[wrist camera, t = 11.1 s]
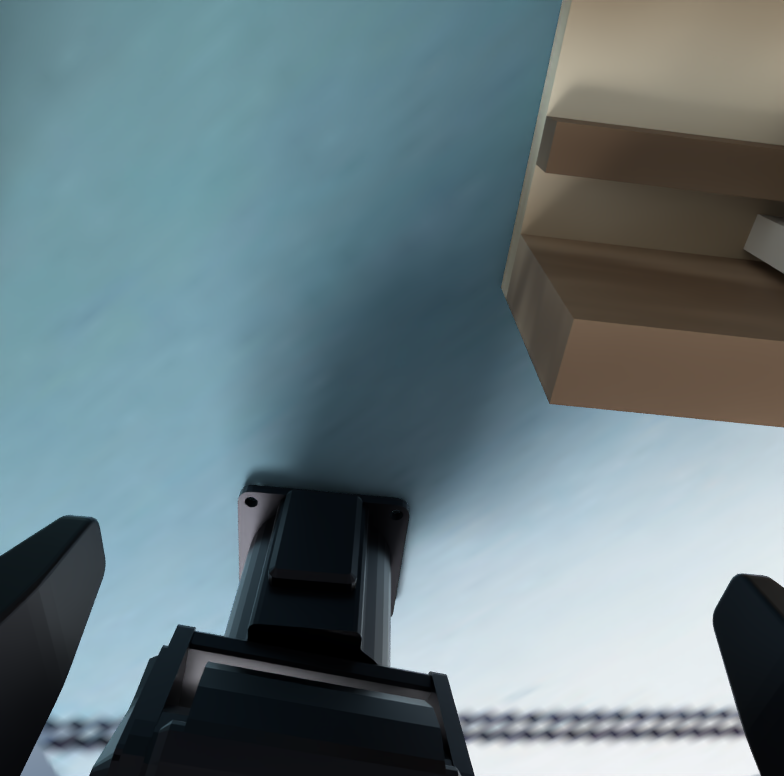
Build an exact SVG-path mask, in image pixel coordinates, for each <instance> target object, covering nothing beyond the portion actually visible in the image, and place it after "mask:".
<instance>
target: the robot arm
mask: <svg viewBox="0 0 784 776" xmlns="http://www.w3.org/2000/svg"><path fill="white" fill-rule="evenodd" d="M248 497H253V498H255V499H257V500H250V499H249V498H248ZM393 510H399V511H401V512H400V513H393V512H392V511H393ZM408 521H409V505H408V504H407V502H406V501H404V500H403V499H399V498H390V497H379V496H368V495H357V494H346V493H335V492H324V491H313V490H302V489H291V488H280V487H269V486H258V485H248V486H246V487H244V488H243V489H242V490H241V492H240V495H239V498H238V534H239V586H238V589H237V593H236V596H235V600H234V603H233V607H232V610H231V614H230V617H229V621H228V624H227V628H226V631H225V635H224V636H221V635H215V634H210V633H205V632H199V631H195V629H196V628H195V627H190V626H184V625H179V624H178V626H177V628H176V630H175V632H174V635H173V637H172V639H171V641H170V643H169V646H165V645H163V647H162V648H161V651H160V653H159V655H158V656H156V657H153V658H150V659H149V662H148V664H147V667H146V669H145V672H144V674H143V677H142V679H141V682H140V684H139V687H138V689H137V692H136V694H135V697H134V699H133V701H132V703H131V705H130V708H129V710H128V711H127V713H126V715H125V717H124V718H123V720H122V722H121V723H120V725H119V726H118V728H117V730H116V731H115V733H114V734H113V736H112V737H111V739H110V741H109V742H108V744H107V745H106V747H105V749H104V750H103V752H102V753H101V755H100V757H99V758H98V760H97V761H96V763H95V765H94V766H93V768H92V770H91V773H90V775H89V776H474V772H473V768H472V765H471V761H470V757H469V754H468V750H467V746H466V743H465V739H464V736H463V732H462V728H461V725H460V721H459V717H458V714H457V710H456V707H455V703H454V699H453V696H452V692H451V688H450V685H449V681H448V678H447V675H446V674H441V673H436V672H429V674H425V673H419V672H414V671H408V670H403V669H398V668H392V667H390V630H391V616H392V615H393V611H394V605H395V599H396V593H397V587H398V581H399V575H400V569H401V563H402V557H403V551H404V545H405V539H406V533H407V527H408ZM104 572H105V554H104V549H103V543H102V537H101V532H100V526H99V523H98V521H97V520H96V519H95V518H92V517H86V516H74V515H66V516H63V517H61V518H59V519H57V520H55V521H54V522H52V523H51V524H49V525H48V526H46V527H45V528H43V529H41V530H40V531H38V532H37V533H35V534H34V535H32V536H31V537H29V538H27V539H26V540H24V541H23V542H21V543H20V544H18V545H17V546H15V547H13V548H12V549H10V550H9V551H7V552H6V553H4V554H3V555H1V556H0V776H20V775H21V773H22V771H23V768H24V766H25V764H26V762H27V760H28V758H29V756H30V754H31V752H32V750H33V748H34V746H35V744H36V742H37V740H38V738H39V736H40V734H41V732H42V730H43V727H44V725H45V723H46V721H47V719H48V717H49V715H50V713H51V711H52V709H53V707H54V705H55V703H56V701H57V698H58V696H59V694H60V692H61V690H62V688H63V685H64V683H65V680H66V678H67V675H68V673H69V670H70V667H71V665H72V662H73V659H74V656H75V654H76V651H77V648H78V645H79V643H80V640H81V637H82V634H83V632H84V629H85V626H86V623H87V621H88V618H89V615H90V612H91V610H92V607H93V604H94V601H95V599H96V596H97V593H98V590H99V588H100V585H101V582H102V579H103V576H104ZM713 627H714V631H715V635H716V638H717V642H718V645H719V649H720V652H721V656H722V659H723V662H724V666H725V669H726V673H727V676H728V680H729V683H730V686H731V690H732V693H733V697H734V700H735V704H736V707H737V711H738V714H739V717H740V720H741V723H742V727H743V730H744V733H745V736H746V738H747V741H748V744H749V746H750V749H751V752H752V754H753V757H754V760H755V762H756V765H757V767H758V770H759V772H760V775H761V776H784V588H783V587H782V586H781V585H779V584H778V583H777V582H775V581H774V580H772V579H771V578H769V577H767V576H763V575H754V574H737V575H736V576H734V577H733V578H732V579H731V581H730V583H729V585H728V586H727V588H726V590H725V592H724V594H723V595H722V597H721V599H720V601H719V602H718V604H717V606H716V608H715V610H714V614H713Z"/></svg>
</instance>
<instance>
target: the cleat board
mask: <svg viewBox="0 0 784 776" xmlns="http://www.w3.org/2000/svg"><path fill="white" fill-rule="evenodd" d="M758 214H762V215H770V216H778V217H784V0H562V5H561V10H560V14H559V19H558V24H557V28H556V33H555V38H554V42H553V47H552V52H551V56H550V61H549V66H548V70H547V75H546V80H545V84H544V89H543V94H542V98H541V103H540V108H539V113H538V117H537V122H536V127H535V131H534V136H533V141H532V145H531V150H530V155H529V159H528V164H527V169H526V173H525V178H524V183H523V187H522V192H521V197H520V201H519V206H518V211H517V215H516V220H515V225H514V229H513V234H512V239H511V243H510V248H509V253H508V257H507V262H506V267H505V271H504V276H503V281H502V285H501V289H502V291H503V293H504V296H505V298H506V301H507V303H508V305H509V308H510V310H511V313H512V315H513V317H514V320H515V322H516V324H517V327H518V329H519V332H520V334H521V336H522V339H523V341H524V344H525V346H526V348H527V351H528V353H529V356H530V358H531V360H532V363H533V365H534V368H535V370H536V372H537V375H538V377H539V380H540V382H541V384H542V387H543V389H544V392H545V394H546V396H547V399H548V401H549V404H556V405H566V406H576V407H586V408H596V409H606V410H616V411H626V412H636V413H646V414H656V415H666V416H676V417H686V418H695V419H705V420H715V421H725V422H735V423H745V424H755V425H765V426H775V427H784V273H782V272H780V271H779V270H777V269H775V268H774V267H772V266H770V265H769V264H767V263H766V262H764V261H762V260H761V259H759V258H757V257H756V256H754V255H753V254H751V253H749V252H748V251H746V250H744V249H743V248H744V246H745V244H746V241H747V239H748V236H749V234H750V232H751V229H752V227H753V224H754V222H755V219H756V217H757V215H758Z"/></svg>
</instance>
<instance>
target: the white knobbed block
mask: <svg viewBox="0 0 784 776" xmlns="http://www.w3.org/2000/svg"><path fill="white" fill-rule="evenodd" d="M743 249H744V250H746V251H748V252H749V253H751V254H753V255H754V256H756V257H757V258H759V259H761V260H762V261H764V262H766V263H767V264H769V265H770V266H772V267H774V268H775V269H777V270H779V271H780V272H782V273H784V217H778V216H770V215H762V214H758V215H757V217H756V219H755V222H754V224H753V227H752V229H751V232H750V234H749V236H748V239H747V241H746V244H745V246H744V248H743Z"/></svg>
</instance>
